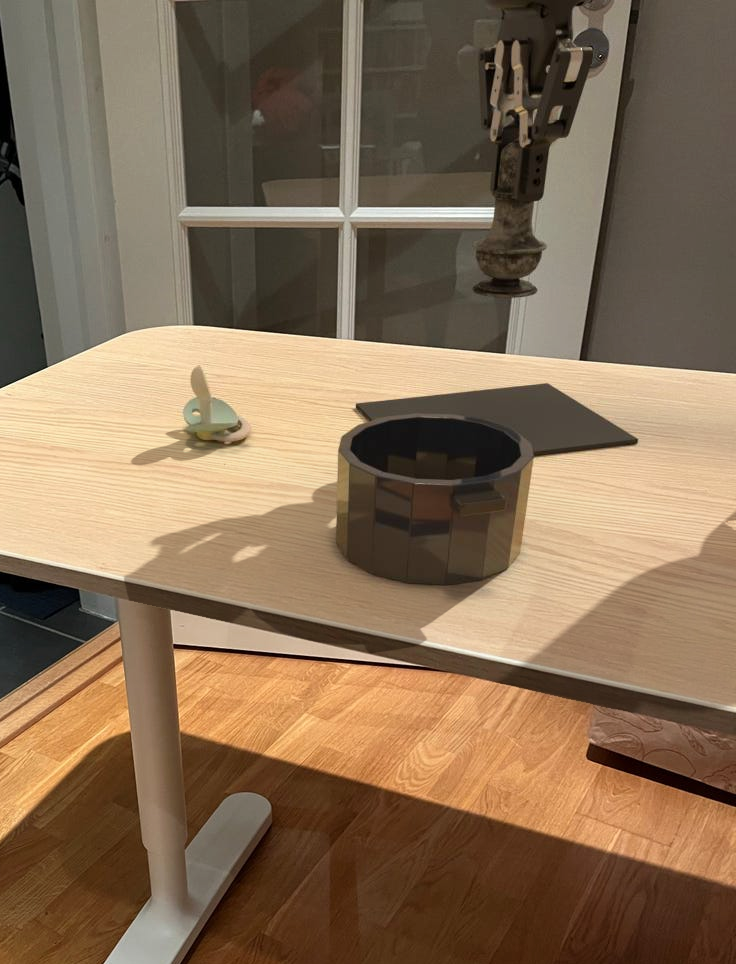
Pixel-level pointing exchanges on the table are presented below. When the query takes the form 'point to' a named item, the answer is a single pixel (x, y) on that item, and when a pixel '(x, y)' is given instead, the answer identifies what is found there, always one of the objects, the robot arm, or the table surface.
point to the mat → (517, 416)
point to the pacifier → (211, 413)
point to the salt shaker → (508, 238)
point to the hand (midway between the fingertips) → (515, 196)
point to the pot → (432, 497)
